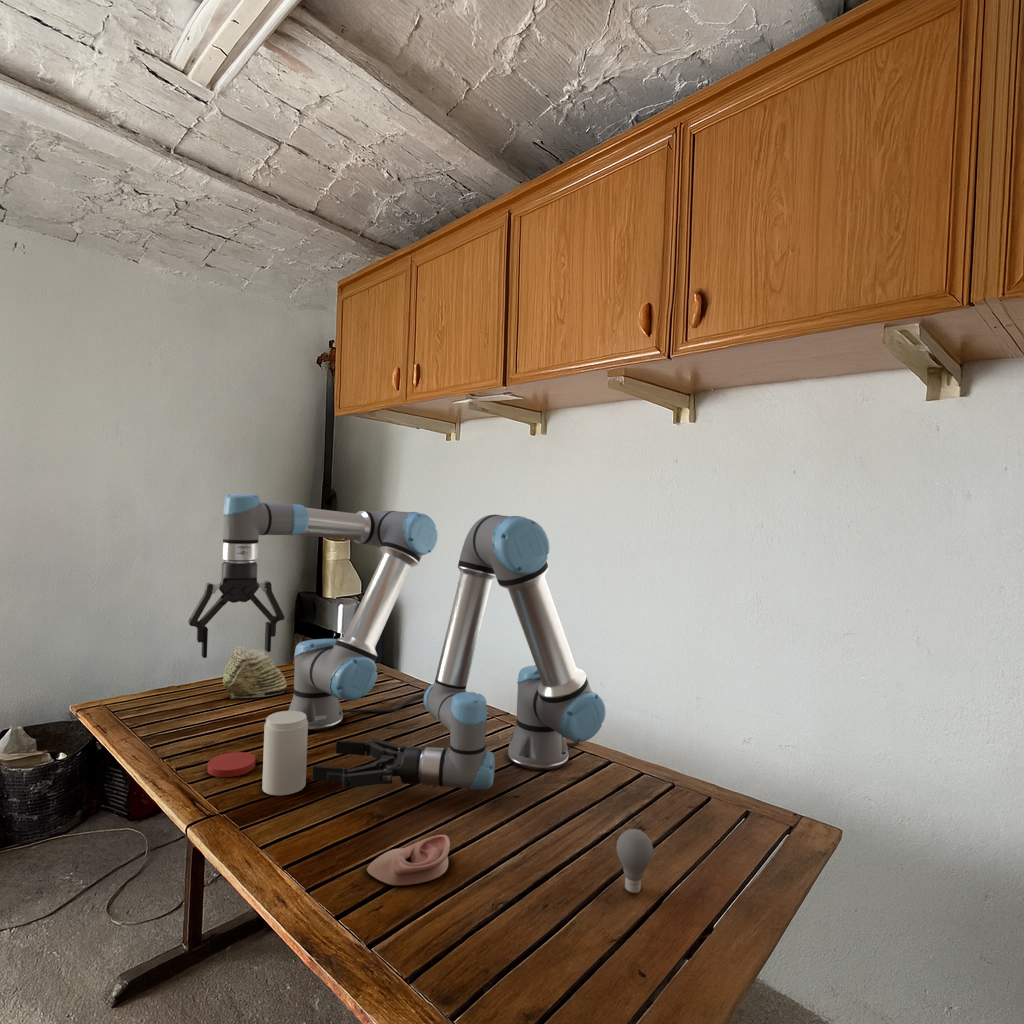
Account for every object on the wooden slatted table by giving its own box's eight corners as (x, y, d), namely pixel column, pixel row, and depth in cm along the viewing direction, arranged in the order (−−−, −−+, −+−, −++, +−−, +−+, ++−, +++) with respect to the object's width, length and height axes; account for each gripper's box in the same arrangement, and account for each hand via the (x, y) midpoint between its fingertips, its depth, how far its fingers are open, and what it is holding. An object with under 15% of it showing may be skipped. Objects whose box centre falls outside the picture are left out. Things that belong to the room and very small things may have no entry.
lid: (230, 781, 139) (230, 773, 139) (197, 771, 143) (197, 764, 143) (265, 764, 148) (265, 757, 148) (233, 755, 152) (233, 748, 152)
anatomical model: (359, 856, 105) (387, 822, 116) (358, 879, 105) (386, 843, 116) (435, 869, 102) (456, 833, 114) (434, 893, 103) (455, 855, 114)
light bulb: (610, 879, 108) (613, 822, 108) (644, 879, 109) (647, 822, 109) (619, 902, 102) (622, 840, 102) (655, 901, 103) (658, 840, 103)
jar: (278, 774, 143) (281, 707, 143) (313, 780, 141) (316, 713, 141) (253, 791, 135) (255, 720, 135) (289, 798, 133) (292, 726, 132)
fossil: (218, 695, 195) (220, 647, 195) (278, 685, 208) (279, 640, 207) (228, 703, 189) (230, 653, 188) (289, 692, 201) (290, 645, 201)
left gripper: (180, 564, 135) (177, 663, 135) (299, 562, 149) (296, 651, 149) (176, 560, 141) (173, 655, 142) (291, 558, 155) (288, 645, 155)
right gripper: (407, 812, 123) (301, 803, 125) (433, 759, 148) (345, 753, 150) (408, 773, 123) (302, 766, 125) (434, 727, 148) (345, 721, 149)
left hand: (236, 653), depth 145 cm, fingers open, 13 cm apart
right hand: (325, 759), depth 137 cm, fingers open, 13 cm apart
